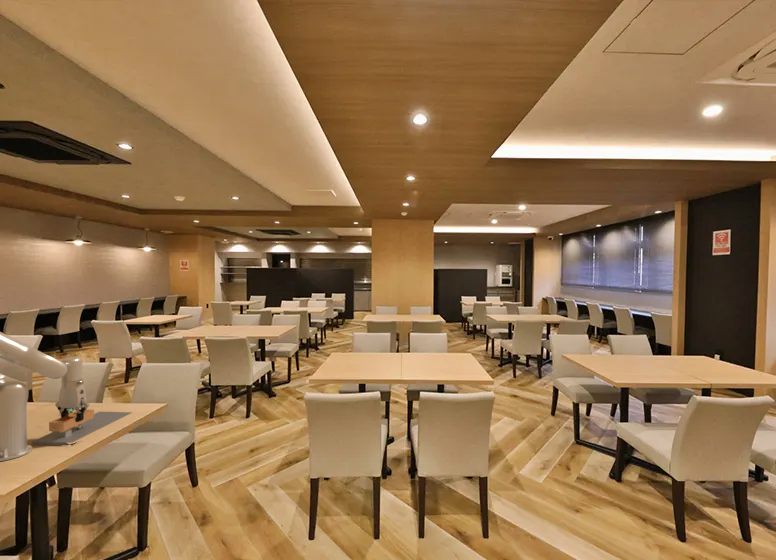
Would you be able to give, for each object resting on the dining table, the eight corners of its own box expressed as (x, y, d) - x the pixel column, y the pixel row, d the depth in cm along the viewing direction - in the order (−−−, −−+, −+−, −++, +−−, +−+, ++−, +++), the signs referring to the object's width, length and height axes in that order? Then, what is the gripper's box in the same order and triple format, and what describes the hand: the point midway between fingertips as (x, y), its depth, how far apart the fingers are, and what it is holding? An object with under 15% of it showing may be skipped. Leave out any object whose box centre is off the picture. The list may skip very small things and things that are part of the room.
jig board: (72, 445, 164) (72, 437, 164) (32, 444, 165) (32, 436, 165) (132, 415, 200) (132, 408, 199) (99, 414, 201) (99, 407, 201)
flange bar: (63, 431, 166) (63, 422, 166) (49, 431, 166) (49, 422, 166) (93, 417, 182) (93, 409, 182) (80, 417, 182) (80, 409, 182)
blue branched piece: (64, 408, 205) (80, 394, 207) (74, 414, 208) (89, 400, 210) (58, 417, 195) (74, 403, 198) (68, 423, 198) (84, 409, 200)
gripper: (96, 381, 177) (96, 418, 177) (62, 381, 178) (62, 417, 178) (82, 386, 170) (82, 424, 170) (47, 385, 171) (47, 423, 171)
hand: (72, 420), depth 174 cm, fingers closed on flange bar, 7 cm apart
